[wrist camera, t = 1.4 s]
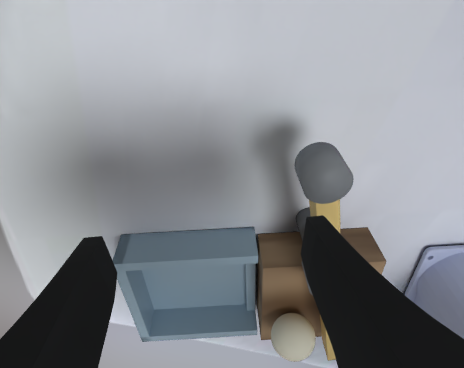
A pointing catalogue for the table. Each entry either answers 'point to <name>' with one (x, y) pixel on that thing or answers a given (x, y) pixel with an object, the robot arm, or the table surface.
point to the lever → (324, 193)
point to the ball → (293, 337)
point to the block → (297, 273)
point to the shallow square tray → (189, 282)
